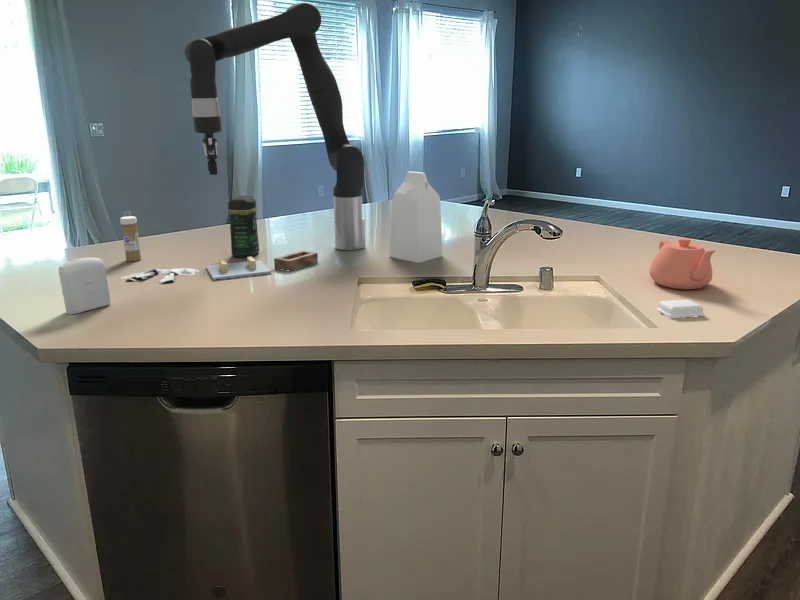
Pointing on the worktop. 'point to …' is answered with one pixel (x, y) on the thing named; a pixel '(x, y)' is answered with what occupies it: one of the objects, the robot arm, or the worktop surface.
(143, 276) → the cloth
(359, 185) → the robot arm
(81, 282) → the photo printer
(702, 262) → the teapot
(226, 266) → the panel
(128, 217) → the sprinkles bottle
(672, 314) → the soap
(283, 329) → the worktop surface
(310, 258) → the frame
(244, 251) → the coffee jar
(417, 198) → the milk
